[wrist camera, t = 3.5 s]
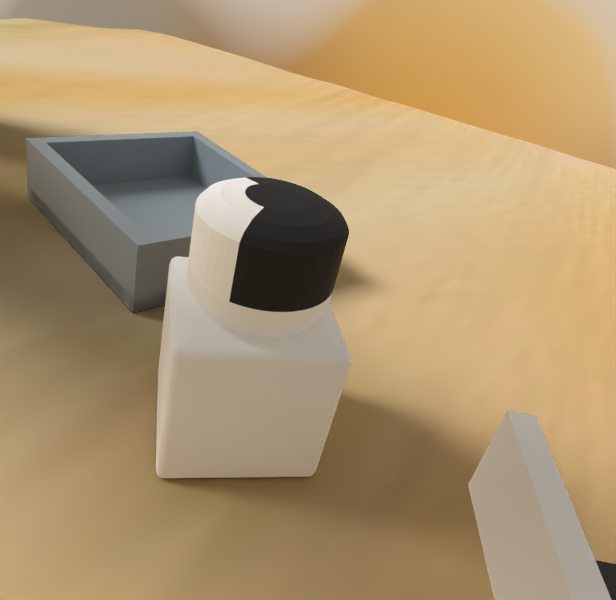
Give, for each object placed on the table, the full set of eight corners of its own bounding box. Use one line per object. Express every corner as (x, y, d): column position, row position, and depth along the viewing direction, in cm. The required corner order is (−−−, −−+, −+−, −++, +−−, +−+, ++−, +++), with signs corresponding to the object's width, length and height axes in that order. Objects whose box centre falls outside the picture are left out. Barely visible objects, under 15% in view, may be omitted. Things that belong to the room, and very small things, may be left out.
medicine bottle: (289, 376, 32) (342, 173, 26) (315, 480, 27) (391, 252, 20) (157, 371, 30) (180, 150, 24) (154, 482, 25) (184, 230, 18)
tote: (28, 197, 43) (25, 138, 41) (191, 180, 52) (197, 131, 50) (132, 312, 34) (137, 245, 32) (307, 268, 43) (321, 213, 41)
